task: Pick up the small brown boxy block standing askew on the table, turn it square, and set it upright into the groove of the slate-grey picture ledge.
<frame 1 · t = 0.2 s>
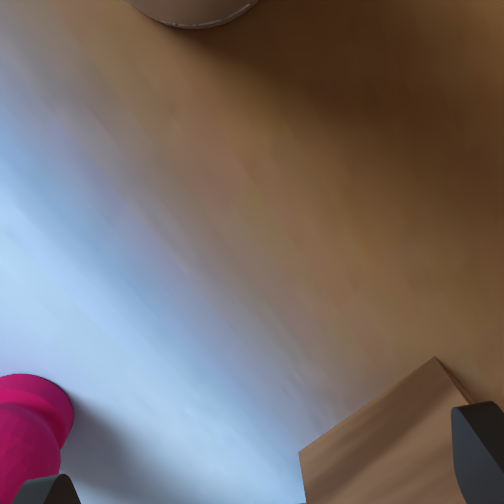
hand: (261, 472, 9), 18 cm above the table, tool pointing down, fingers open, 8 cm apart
pepper mill: (29, 408, 30), on the table
brown boxy block: (380, 422, 31), on the table
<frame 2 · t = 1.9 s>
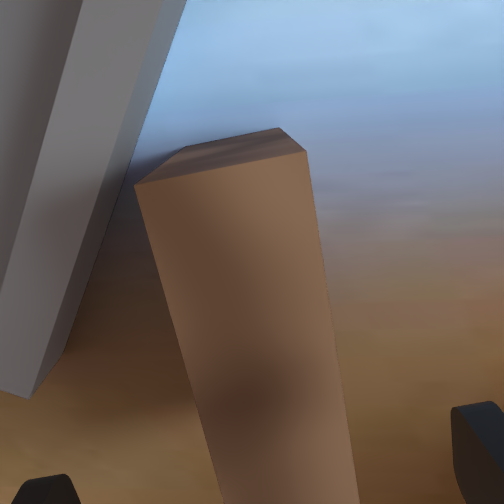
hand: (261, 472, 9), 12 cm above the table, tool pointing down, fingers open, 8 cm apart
picture ledge: (24, 68, 17), on the table
brown boxy block: (258, 267, 20), on the table
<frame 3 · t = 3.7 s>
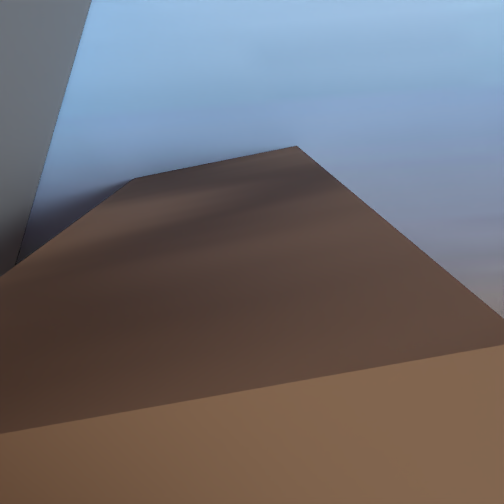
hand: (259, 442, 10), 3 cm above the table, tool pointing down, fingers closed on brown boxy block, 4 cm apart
brown boxy block: (260, 371, 13), on the table, touching gripper
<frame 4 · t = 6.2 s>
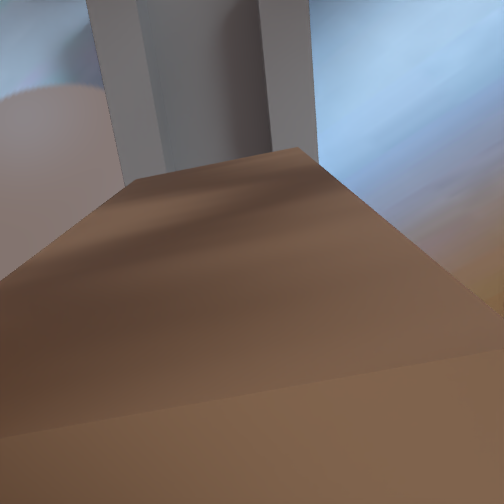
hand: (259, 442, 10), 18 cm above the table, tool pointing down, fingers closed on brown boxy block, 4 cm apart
picture ledge: (231, 215, 27), on the table
brown boxy block: (261, 371, 13), point 15 cm above the table, touching gripper
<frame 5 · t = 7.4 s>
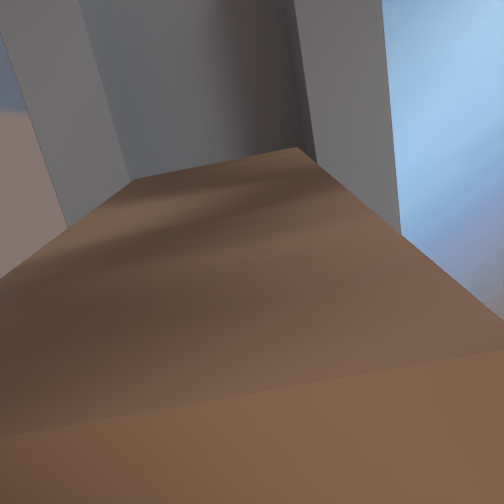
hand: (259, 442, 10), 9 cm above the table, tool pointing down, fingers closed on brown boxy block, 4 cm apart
picture ledge: (254, 285, 18), on the table
brown boxy block: (260, 371, 13), point 6 cm above the table, touching gripper
when the fingers open (5 cm above the table, at t = 8.5 s): brown boxy block stays where it is, resting on picture ledge.
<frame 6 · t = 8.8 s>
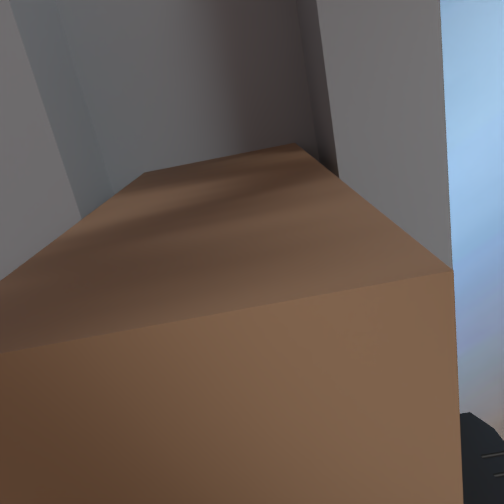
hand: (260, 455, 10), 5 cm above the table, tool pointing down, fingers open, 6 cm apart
picture ledge: (254, 337, 14), on the table
brown boxy block: (260, 354, 13), point 1 cm above the table, touching picture ledge
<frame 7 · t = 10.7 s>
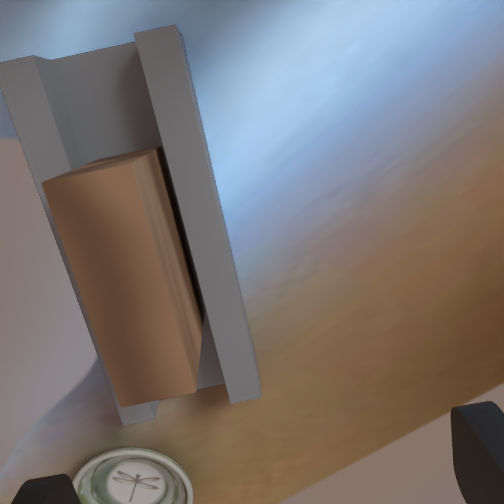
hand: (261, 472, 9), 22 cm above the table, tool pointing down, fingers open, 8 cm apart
picture ledge: (154, 237, 30), on the table
saucer: (138, 474, 37), on the table
brown boxy block: (154, 242, 30), point 1 cm above the table, touching picture ledge
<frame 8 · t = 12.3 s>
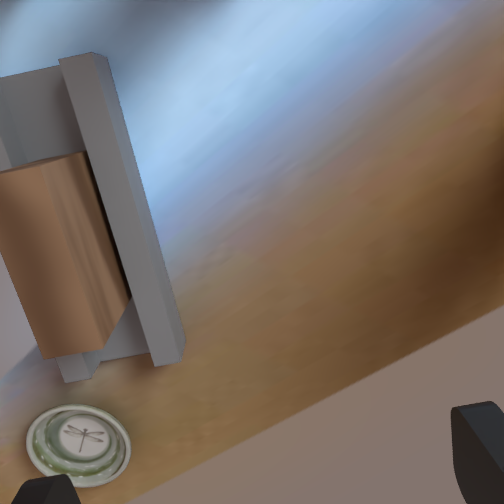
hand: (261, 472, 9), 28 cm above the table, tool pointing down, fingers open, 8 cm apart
picture ledge: (91, 225, 36), on the table
saucer: (87, 429, 43), on the table
brown boxy block: (89, 229, 35), point 1 cm above the table, touching picture ledge
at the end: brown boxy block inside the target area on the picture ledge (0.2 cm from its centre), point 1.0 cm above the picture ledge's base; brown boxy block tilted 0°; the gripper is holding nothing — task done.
